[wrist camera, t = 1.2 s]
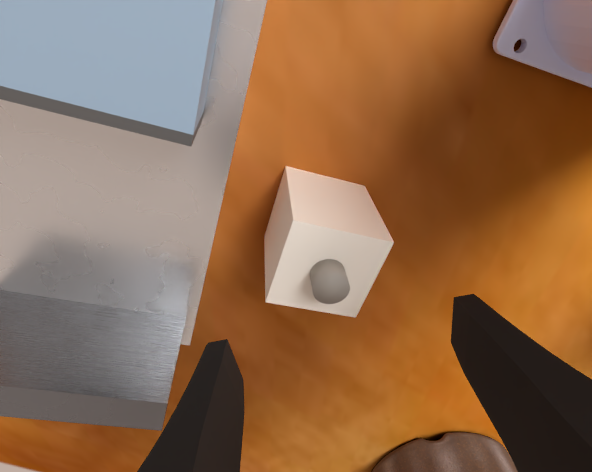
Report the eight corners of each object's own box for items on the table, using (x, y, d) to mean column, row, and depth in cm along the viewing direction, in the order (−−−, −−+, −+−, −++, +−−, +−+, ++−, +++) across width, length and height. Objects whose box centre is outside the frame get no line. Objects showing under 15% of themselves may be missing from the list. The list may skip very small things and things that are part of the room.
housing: (364, 185, 19) (402, 257, 14) (336, 251, 21) (360, 335, 16) (285, 165, 18) (295, 235, 13) (264, 236, 20) (265, 319, 15)
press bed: (296, -135, 13) (324, -227, 7) (193, 325, 23) (173, 431, 18) (-64, -290, 10) (-422, -592, 5) (3, 297, 21) (-88, 408, 15)
